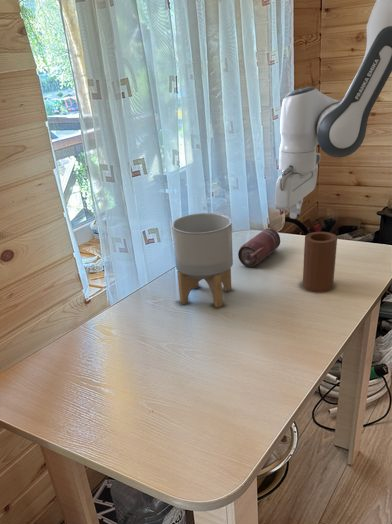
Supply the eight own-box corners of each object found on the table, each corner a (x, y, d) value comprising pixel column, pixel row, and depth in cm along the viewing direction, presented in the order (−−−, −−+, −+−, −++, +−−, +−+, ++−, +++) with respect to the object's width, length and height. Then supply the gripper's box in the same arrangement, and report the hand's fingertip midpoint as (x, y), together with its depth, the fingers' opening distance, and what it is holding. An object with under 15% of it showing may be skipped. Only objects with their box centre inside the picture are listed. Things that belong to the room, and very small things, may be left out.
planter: (244, 299, 118) (242, 224, 109) (194, 314, 114) (188, 237, 104) (216, 279, 128) (213, 209, 119) (169, 293, 124) (162, 220, 114)
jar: (336, 282, 123) (340, 233, 116) (327, 294, 118) (331, 244, 111) (308, 277, 126) (311, 230, 120) (298, 289, 121) (300, 240, 114)
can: (286, 241, 139) (263, 259, 129) (269, 253, 144) (246, 271, 134) (273, 223, 139) (248, 240, 129) (257, 235, 143) (232, 253, 133)
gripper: (294, 172, 117) (291, 231, 125) (322, 153, 132) (319, 206, 139) (268, 171, 120) (267, 228, 127) (299, 152, 135) (297, 204, 142)
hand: (294, 216), depth 134 cm, fingers closed
